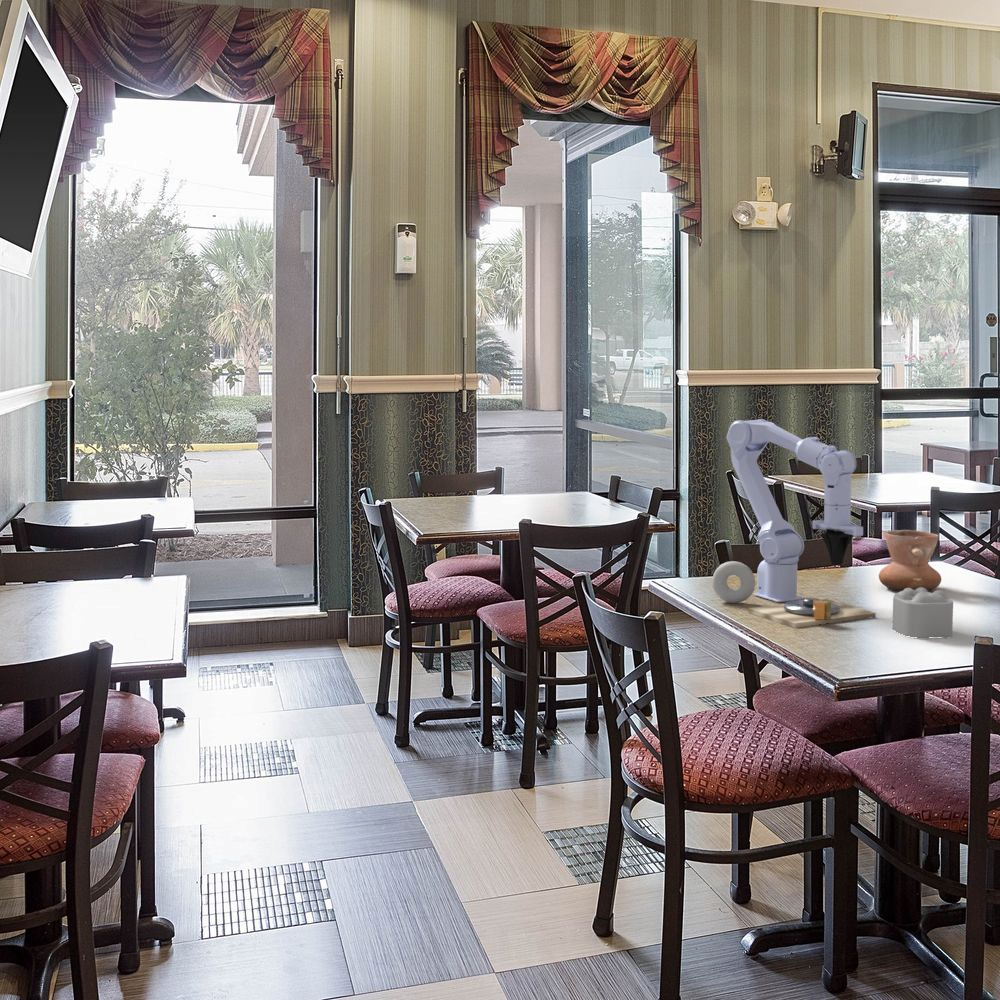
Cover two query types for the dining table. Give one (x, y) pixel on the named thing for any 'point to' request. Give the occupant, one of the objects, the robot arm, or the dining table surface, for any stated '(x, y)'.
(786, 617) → the board
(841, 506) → the robot arm
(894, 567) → the ceramic jug
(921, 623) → the lumpy-topped squat cylinder
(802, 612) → the flange plate
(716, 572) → the donut
